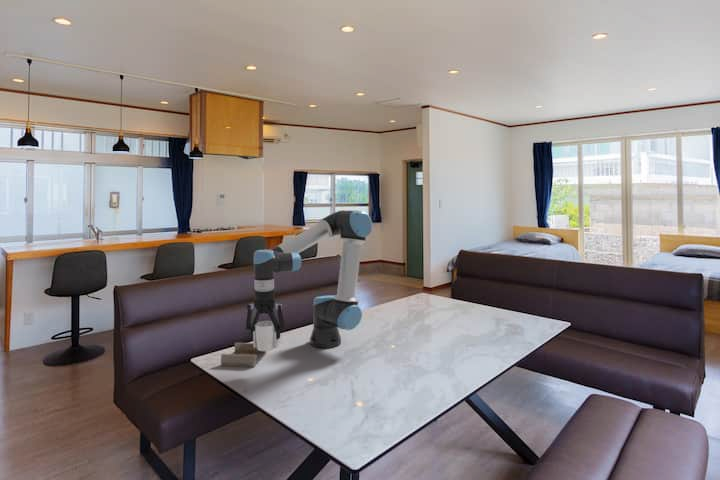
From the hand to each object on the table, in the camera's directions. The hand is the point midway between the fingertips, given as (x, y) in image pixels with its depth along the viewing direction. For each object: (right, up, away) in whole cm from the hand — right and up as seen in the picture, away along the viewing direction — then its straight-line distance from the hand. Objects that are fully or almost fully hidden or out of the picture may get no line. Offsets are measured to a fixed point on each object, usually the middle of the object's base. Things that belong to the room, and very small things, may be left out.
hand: (265, 346), depth 161 cm
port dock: (-12, -9, +14) cm, 21 cm away
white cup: (0, -1, 0) cm, 1 cm away
